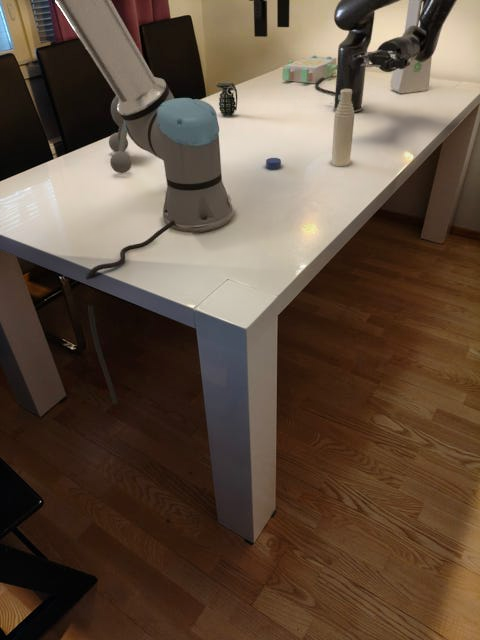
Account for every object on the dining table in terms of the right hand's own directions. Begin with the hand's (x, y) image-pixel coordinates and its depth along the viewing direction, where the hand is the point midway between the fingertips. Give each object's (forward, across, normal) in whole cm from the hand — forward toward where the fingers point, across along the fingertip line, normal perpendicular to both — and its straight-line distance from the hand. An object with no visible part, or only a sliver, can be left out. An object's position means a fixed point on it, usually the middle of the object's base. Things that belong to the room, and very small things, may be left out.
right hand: (369, 65), depth 123 cm
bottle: (+11, 0, +22) cm, 24 cm away
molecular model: (+35, -50, +21) cm, 64 cm away
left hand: (+22, -14, -10) cm, 28 cm away
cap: (+22, -14, +20) cm, 33 cm away
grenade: (-10, -55, +21) cm, 60 cm away
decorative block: (-72, -59, +21) cm, 95 cm away
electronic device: (-68, -14, +21) cm, 73 cm away
